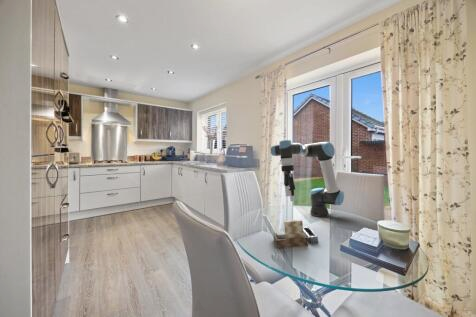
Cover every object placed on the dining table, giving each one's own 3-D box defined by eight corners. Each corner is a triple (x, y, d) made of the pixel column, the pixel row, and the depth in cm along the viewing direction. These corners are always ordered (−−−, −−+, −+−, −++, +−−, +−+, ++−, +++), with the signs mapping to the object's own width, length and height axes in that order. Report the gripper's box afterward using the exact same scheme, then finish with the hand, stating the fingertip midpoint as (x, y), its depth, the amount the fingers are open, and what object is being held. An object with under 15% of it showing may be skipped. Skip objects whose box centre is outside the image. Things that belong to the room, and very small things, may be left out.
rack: (302, 237, 133) (301, 229, 133) (307, 245, 121) (307, 237, 121) (274, 239, 134) (273, 232, 134) (277, 248, 122) (276, 240, 121)
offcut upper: (284, 235, 132) (283, 231, 132) (286, 238, 127) (285, 234, 127) (276, 236, 132) (275, 232, 132) (278, 239, 127) (277, 235, 127)
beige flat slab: (303, 243, 125) (301, 219, 125) (304, 244, 123) (302, 220, 123) (286, 244, 125) (283, 221, 125) (286, 246, 123) (284, 222, 123)
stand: (301, 233, 139) (301, 227, 139) (309, 232, 139) (309, 226, 139) (309, 243, 123) (308, 237, 123) (318, 242, 123) (317, 236, 123)
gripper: (277, 164, 136) (280, 194, 137) (285, 166, 111) (288, 203, 112) (288, 163, 136) (291, 193, 136) (298, 165, 111) (301, 202, 111)
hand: (290, 198), depth 124 cm, fingers open, 13 cm apart
